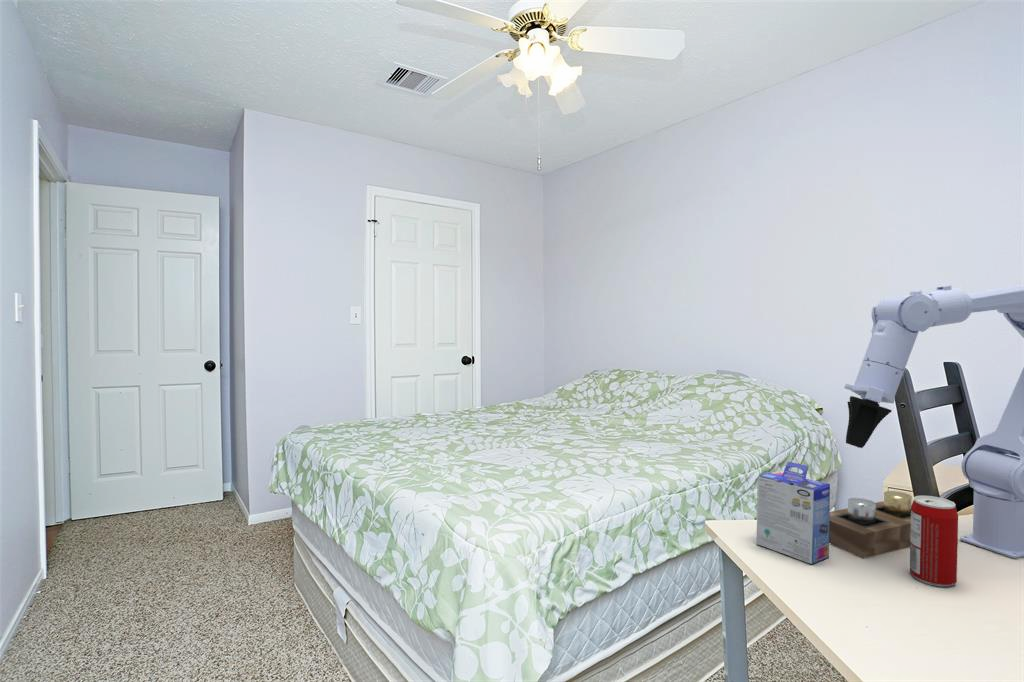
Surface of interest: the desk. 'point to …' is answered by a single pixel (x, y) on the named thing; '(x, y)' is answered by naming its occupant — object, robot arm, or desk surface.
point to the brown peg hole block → (869, 533)
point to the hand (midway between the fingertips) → (853, 445)
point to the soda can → (934, 540)
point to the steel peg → (861, 511)
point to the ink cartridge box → (793, 514)
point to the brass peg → (897, 504)
